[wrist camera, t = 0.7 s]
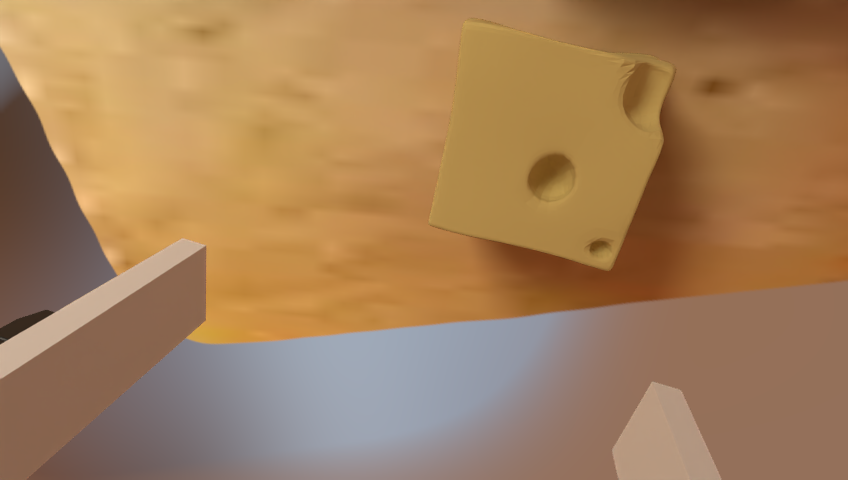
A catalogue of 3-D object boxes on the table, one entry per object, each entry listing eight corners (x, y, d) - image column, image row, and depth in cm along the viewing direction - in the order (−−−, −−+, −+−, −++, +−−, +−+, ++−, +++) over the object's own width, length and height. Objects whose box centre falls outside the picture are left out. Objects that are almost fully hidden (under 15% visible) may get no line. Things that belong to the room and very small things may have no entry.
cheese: (648, 55, 27) (712, 63, 18) (587, 217, 32) (613, 287, 23) (480, 20, 28) (460, 10, 19) (444, 182, 33) (415, 236, 24)
